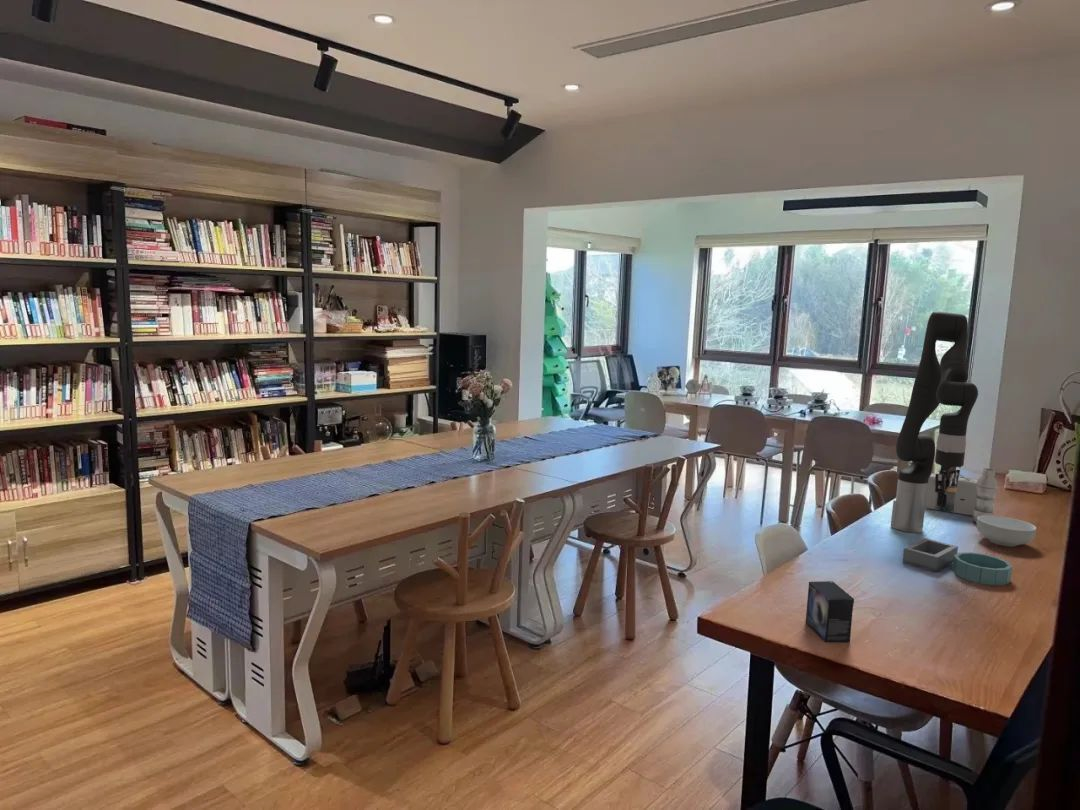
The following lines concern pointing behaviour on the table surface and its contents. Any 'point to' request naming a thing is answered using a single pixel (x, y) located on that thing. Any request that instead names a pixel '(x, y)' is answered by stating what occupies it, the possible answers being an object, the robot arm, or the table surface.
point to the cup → (982, 568)
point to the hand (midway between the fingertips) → (944, 504)
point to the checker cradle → (929, 554)
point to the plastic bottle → (985, 494)
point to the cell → (948, 500)
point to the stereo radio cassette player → (963, 498)
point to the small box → (829, 611)
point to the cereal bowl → (1005, 530)
